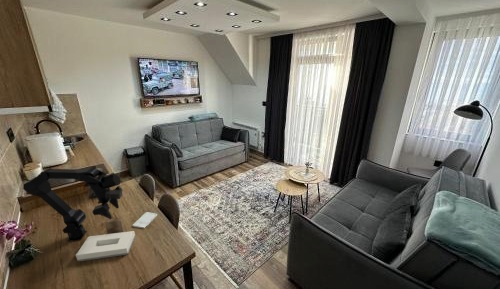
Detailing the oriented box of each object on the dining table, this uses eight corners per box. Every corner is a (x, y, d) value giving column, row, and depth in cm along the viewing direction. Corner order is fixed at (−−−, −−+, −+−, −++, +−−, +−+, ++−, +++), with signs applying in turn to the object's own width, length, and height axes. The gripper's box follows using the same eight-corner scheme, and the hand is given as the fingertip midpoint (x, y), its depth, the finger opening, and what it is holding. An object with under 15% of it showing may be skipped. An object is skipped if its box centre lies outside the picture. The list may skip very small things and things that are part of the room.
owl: (95, 190, 157) (88, 166, 150) (113, 188, 160) (108, 165, 154) (87, 199, 146) (80, 174, 139) (107, 197, 149) (101, 172, 142)
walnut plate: (108, 235, 115) (104, 222, 112) (109, 232, 117) (106, 219, 114) (123, 233, 117) (120, 220, 114) (125, 230, 119) (122, 217, 116)
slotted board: (77, 261, 99) (75, 255, 98) (90, 242, 110) (88, 236, 109) (127, 254, 104) (126, 248, 102) (135, 236, 115) (134, 230, 113)
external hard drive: (157, 215, 132) (144, 229, 121) (146, 213, 134) (132, 227, 122) (157, 213, 132) (144, 227, 120) (145, 211, 133) (131, 225, 122)
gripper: (108, 194, 100) (123, 219, 105) (122, 176, 117) (134, 198, 123) (84, 202, 98) (101, 226, 104) (102, 183, 116) (115, 205, 121)
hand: (114, 213), depth 113 cm, fingers open, 9 cm apart
